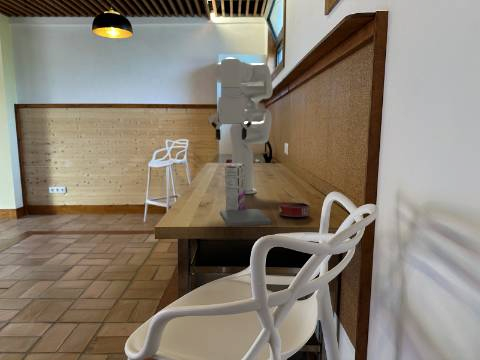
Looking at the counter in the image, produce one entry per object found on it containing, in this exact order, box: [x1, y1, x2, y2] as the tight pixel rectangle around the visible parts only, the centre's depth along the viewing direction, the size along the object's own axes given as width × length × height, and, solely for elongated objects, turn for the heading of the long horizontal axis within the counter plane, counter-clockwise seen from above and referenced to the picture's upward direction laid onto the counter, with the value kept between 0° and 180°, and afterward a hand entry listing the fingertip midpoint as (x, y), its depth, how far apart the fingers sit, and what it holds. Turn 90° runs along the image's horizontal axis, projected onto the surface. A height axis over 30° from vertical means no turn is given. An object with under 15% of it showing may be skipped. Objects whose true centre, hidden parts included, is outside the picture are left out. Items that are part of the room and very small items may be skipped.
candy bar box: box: [224, 163, 246, 210], centre depth 117 cm, size 11×5×16 cm, turn 169°
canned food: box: [278, 187, 310, 218], centre depth 108 cm, size 11×10×10 cm
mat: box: [219, 208, 272, 227], centre depth 105 cm, size 16×13×1 cm
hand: (231, 139), depth 126 cm, fingers open, 9 cm apart
